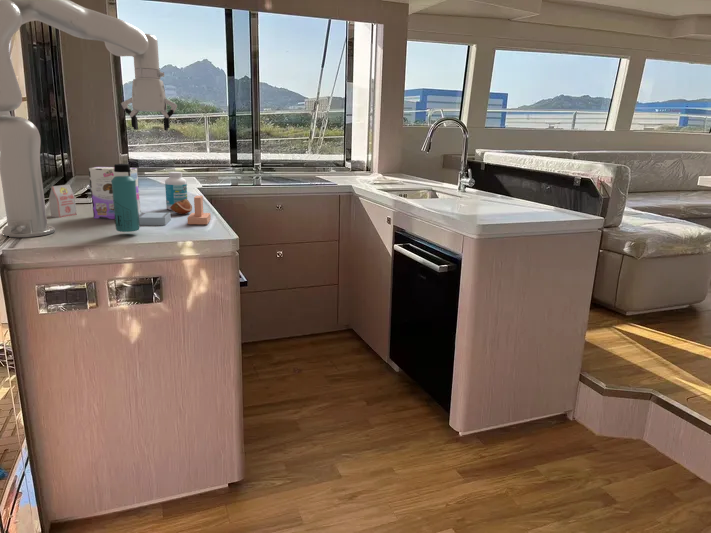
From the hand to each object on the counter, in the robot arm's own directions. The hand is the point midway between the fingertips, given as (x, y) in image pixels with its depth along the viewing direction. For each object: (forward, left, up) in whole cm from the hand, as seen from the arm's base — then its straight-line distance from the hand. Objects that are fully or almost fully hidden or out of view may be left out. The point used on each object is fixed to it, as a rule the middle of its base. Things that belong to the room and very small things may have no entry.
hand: (151, 130), depth 178 cm
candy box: (-7, +11, -29) cm, 31 cm away
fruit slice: (+1, -8, -29) cm, 30 cm away
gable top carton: (-3, +29, -29) cm, 41 cm away
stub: (-15, -16, -28) cm, 36 cm away
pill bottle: (+11, -5, -28) cm, 31 cm away
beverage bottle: (-34, +1, -28) cm, 44 cm away
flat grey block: (-15, -1, -28) cm, 32 cm away
